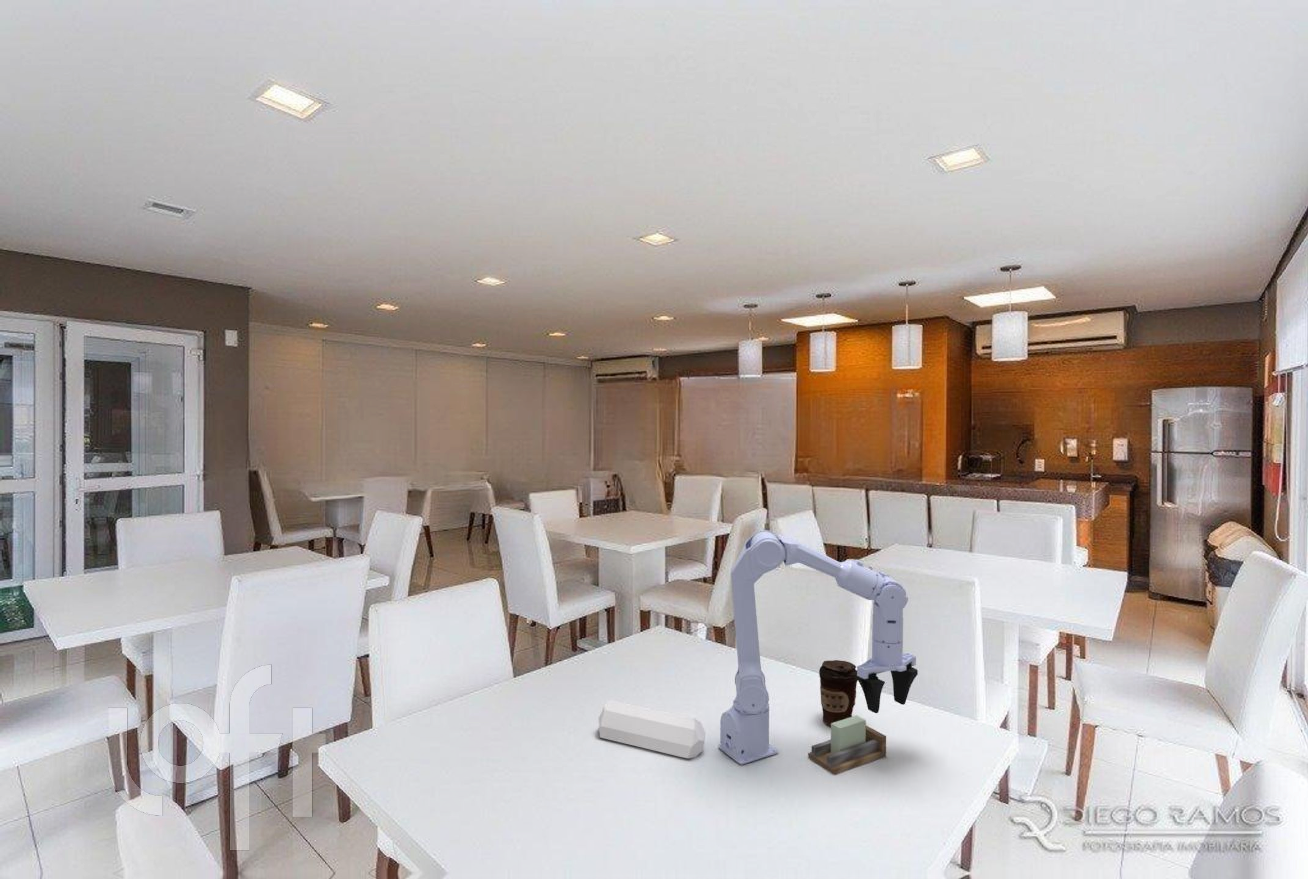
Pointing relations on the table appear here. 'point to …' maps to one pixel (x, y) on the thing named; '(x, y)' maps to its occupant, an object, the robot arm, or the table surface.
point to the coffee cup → (837, 690)
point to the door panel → (847, 733)
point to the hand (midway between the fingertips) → (886, 706)
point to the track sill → (849, 753)
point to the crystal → (652, 729)
